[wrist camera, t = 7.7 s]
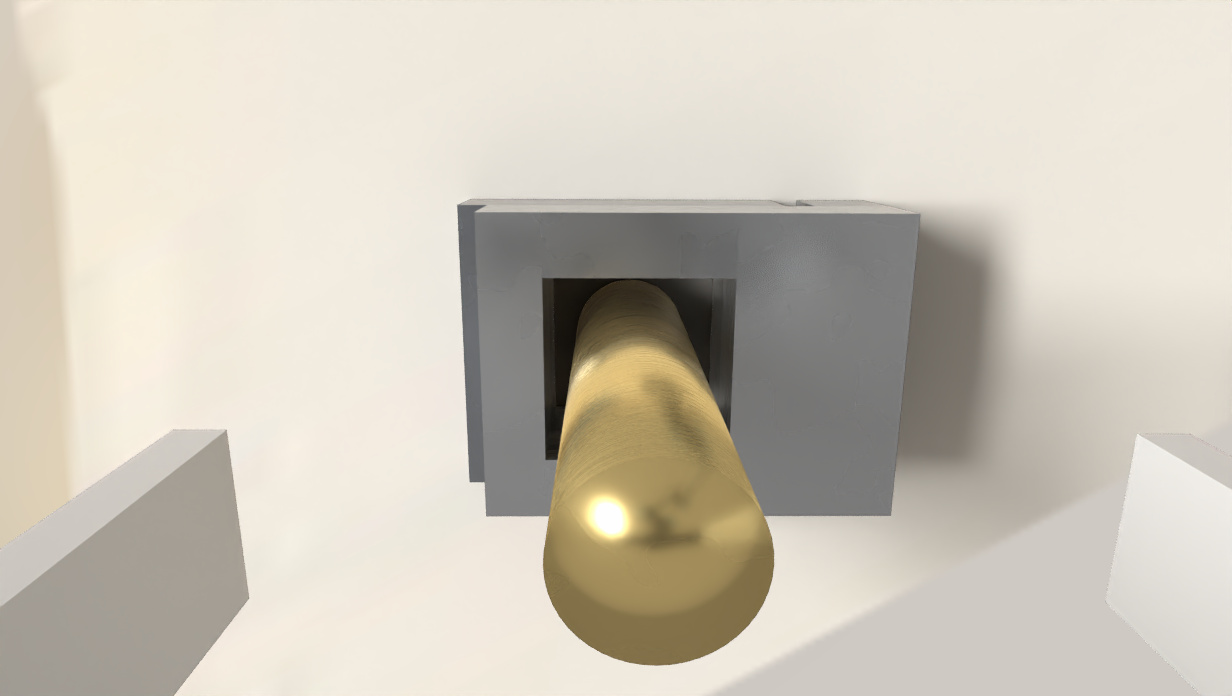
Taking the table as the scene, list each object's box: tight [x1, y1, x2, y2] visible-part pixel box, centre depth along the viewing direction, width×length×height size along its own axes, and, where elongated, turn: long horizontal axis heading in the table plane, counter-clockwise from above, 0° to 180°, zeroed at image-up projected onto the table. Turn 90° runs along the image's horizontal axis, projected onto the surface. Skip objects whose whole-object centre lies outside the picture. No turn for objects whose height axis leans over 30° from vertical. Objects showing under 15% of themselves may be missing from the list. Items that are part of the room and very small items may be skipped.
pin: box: [543, 280, 774, 665], centre depth 18 cm, size 3×3×14 cm
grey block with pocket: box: [457, 199, 920, 516], centre depth 23 cm, size 12×8×4 cm
